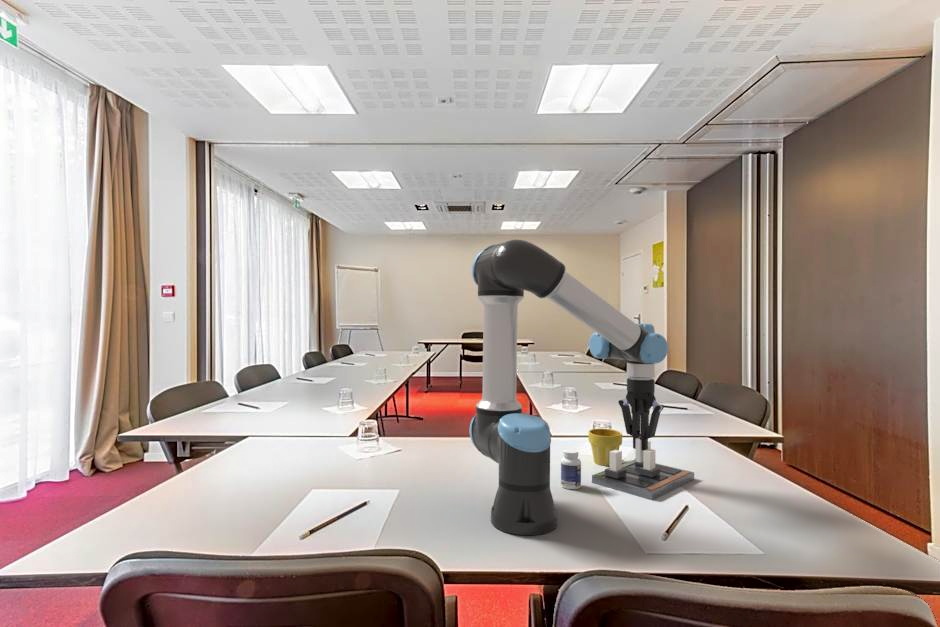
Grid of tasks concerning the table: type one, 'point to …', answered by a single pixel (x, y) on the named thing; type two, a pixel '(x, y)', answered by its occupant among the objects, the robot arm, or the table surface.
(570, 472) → the pill bottle
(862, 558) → the table surface
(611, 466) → the block
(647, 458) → the breaker mid
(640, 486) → the panel
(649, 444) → the breaker right
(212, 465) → the table surface
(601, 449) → the plant pot
